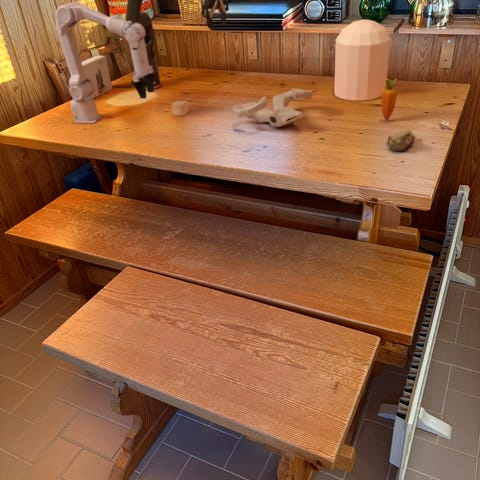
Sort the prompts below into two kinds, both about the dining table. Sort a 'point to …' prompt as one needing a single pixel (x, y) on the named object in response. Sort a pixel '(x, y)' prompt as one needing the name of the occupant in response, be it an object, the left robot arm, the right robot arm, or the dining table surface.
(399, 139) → the rock
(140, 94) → the left robot arm
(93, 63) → the skincare box
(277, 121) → the animal horns
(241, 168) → the dining table surface
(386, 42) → the container
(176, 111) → the pale beige block
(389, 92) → the carrot
